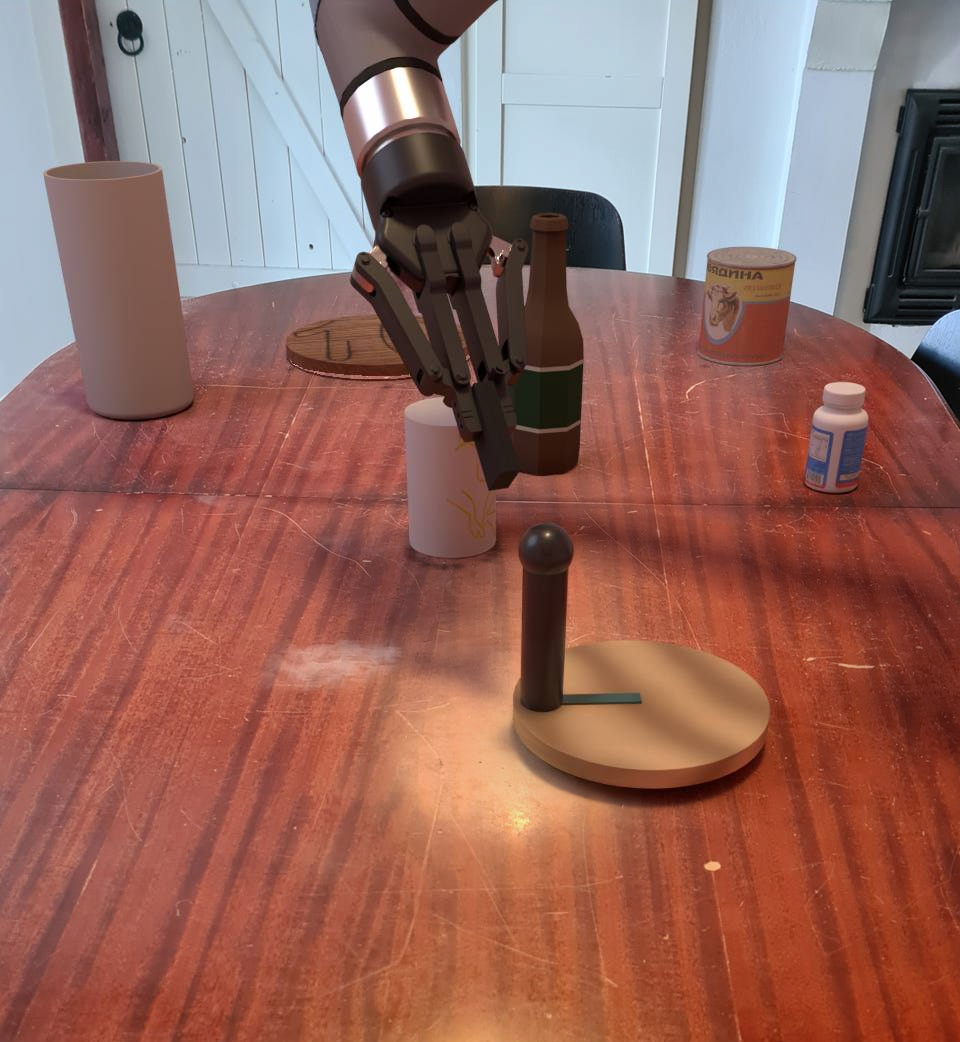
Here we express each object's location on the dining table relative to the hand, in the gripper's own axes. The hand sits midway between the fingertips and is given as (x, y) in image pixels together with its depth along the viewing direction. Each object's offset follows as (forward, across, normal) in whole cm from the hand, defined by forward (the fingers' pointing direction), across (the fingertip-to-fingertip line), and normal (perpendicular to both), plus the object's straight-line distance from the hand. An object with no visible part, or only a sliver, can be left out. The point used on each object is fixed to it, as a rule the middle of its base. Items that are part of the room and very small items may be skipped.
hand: (504, 480), depth 84 cm
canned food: (-38, -66, -61) cm, 97 cm away
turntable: (+17, -6, -4) cm, 19 cm away
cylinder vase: (-44, +12, -68) cm, 83 cm away
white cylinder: (-8, -7, -31) cm, 33 cm away
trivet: (-51, -22, -75) cm, 94 cm away
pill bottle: (-6, -48, -29) cm, 57 cm away
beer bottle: (-18, -24, -42) cm, 52 cm away
